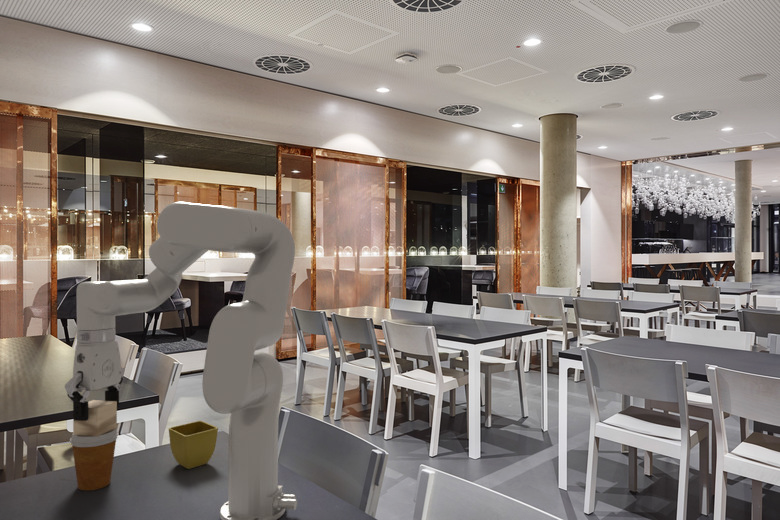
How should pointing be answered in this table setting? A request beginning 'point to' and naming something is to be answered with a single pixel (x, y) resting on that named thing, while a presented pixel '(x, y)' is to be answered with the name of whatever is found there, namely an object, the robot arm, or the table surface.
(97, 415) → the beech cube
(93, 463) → the disposable coffee cup
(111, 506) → the table surface
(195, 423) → the flower pot
